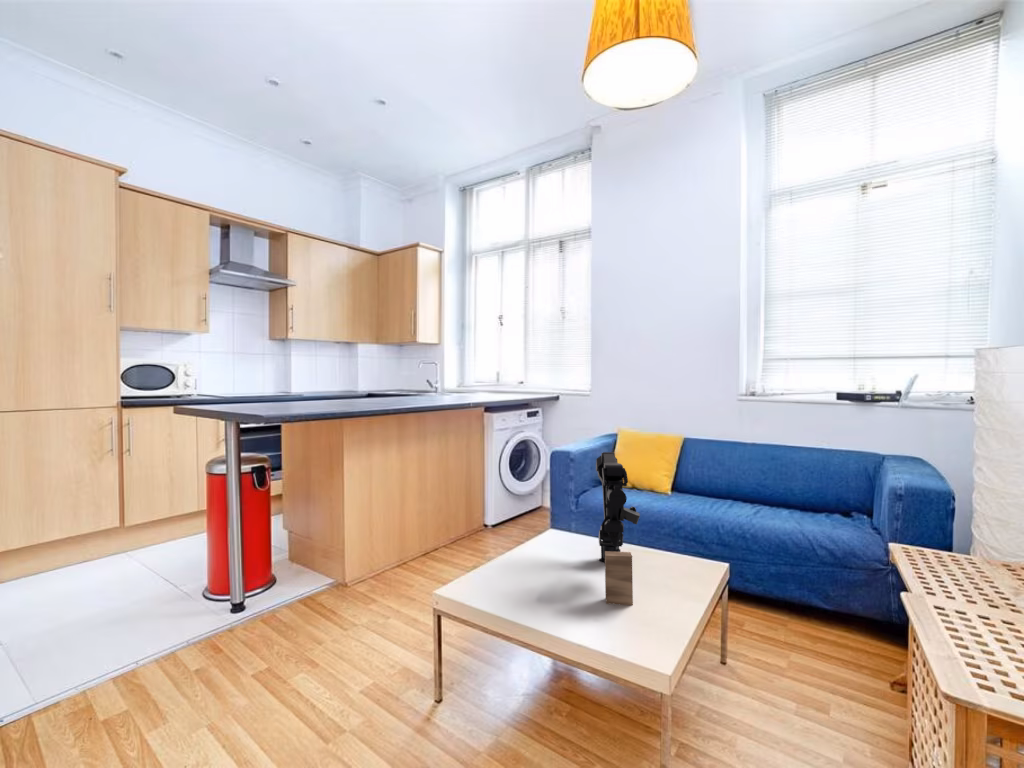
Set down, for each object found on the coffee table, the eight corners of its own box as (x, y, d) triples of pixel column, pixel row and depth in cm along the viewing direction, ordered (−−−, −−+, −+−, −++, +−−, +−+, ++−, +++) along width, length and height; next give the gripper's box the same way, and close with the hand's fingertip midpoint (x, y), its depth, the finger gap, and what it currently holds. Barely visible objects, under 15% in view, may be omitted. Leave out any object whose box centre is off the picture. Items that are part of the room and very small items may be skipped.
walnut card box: (605, 598, 141) (604, 551, 141) (631, 599, 140) (630, 552, 140) (606, 603, 137) (605, 555, 137) (632, 605, 136) (632, 556, 136)
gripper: (638, 507, 144) (639, 556, 143) (637, 496, 162) (638, 539, 161) (603, 506, 147) (604, 553, 146) (606, 495, 165) (607, 537, 164)
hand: (615, 546), depth 154 cm, fingers closed
